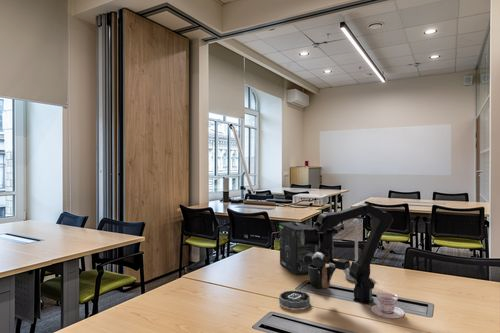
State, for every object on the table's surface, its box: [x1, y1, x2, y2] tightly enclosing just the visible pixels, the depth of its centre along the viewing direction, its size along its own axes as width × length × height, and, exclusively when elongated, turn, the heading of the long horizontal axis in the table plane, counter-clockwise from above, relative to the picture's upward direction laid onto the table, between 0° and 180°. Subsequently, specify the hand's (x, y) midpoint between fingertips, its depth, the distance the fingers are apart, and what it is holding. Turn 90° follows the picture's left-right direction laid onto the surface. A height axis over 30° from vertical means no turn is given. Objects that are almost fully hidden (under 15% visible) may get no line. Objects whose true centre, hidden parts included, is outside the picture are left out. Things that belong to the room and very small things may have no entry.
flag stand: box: [342, 218, 360, 282], centre depth 170 cm, size 13×13×30 cm
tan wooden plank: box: [322, 266, 331, 289], centre depth 141 cm, size 2×3×8 cm, turn 140°
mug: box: [307, 264, 323, 289], centre depth 158 cm, size 8×12×10 cm
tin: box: [278, 290, 311, 311], centre depth 140 cm, size 12×12×3 cm
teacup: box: [370, 291, 406, 319], centre depth 132 cm, size 12×12×6 cm
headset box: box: [278, 221, 316, 276], centre depth 187 cm, size 22×12×26 cm, turn 17°
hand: (326, 281), depth 141 cm, fingers closed on tan wooden plank, 2 cm apart
